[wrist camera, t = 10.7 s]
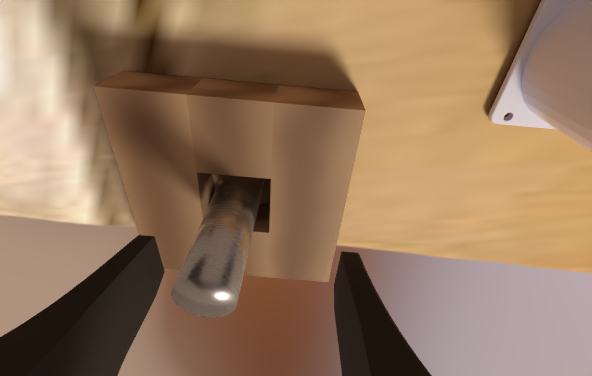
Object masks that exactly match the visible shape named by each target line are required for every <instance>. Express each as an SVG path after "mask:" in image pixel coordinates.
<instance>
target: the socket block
mask: <svg viewBox="0 0 592 376" xmlns="http://www.w3.org/2000/svg"><path fill="white" fill-rule="evenodd" d="M93 87H94V91H95V94H96V97H97V100H98V104H99V107H100V110H101V113H102V117H103V120H104V123H105V126H106V130H107V133H108V136H109V139H110V143H111V146H112V149H113V152H114V156H115V159H116V162H117V165H118V169H119V172H120V175H121V178H122V181H123V185H124V188H125V191H126V194H127V198H128V201H129V204H130V207H131V211H132V214H133V217H134V220H135V224H136V227H137V230H138V233H139V235H145V236H155V239H156V243H157V246H158V250H159V253H160V257H161V260H162V264H163V267H164V269H176V270H181V268H182V266H183V264H184V261H185V259H186V257H187V254H188V252H189V250H190V247H191V245H192V243H193V241H194V238H195V236H196V234H197V231H198V229H199V227H200V225H201V222H202V220H203V218H204V215H205V213H206V211H207V208H208V206H209V204H210V202H211V199H212V197H213V195H214V184H213V174H220V175H231V176H243V177H255V178H266V179H271V194H270V205H259V208H258V212H257V217H256V221H255V226H254V230H253V235H252V239H251V244H250V248H249V253H248V257H247V262H246V266H245V271H244V275H249V276H261V277H274V278H285V279H297V280H310V281H322V282H328V280H329V276H330V271H331V267H332V262H333V257H334V253H335V248H336V244H337V239H338V234H339V230H340V225H341V221H342V216H343V211H344V207H345V202H346V198H347V193H348V188H349V184H350V179H351V175H352V170H353V165H354V161H355V156H356V151H357V147H358V142H359V138H360V133H361V128H362V124H363V119H364V115H365V108H364V106H363V103H362V101H361V98H360V96H359V93H358V92H354V91H343V90H331V89H320V88H309V87H298V86H287V85H276V84H264V83H253V82H242V81H231V80H220V79H208V78H197V77H186V76H175V75H164V74H153V73H141V72H130V71H121V72H120V73H118V74H116V75H114V76H112V77H110V78H108V79H106V80H104V81H102V82H101V83H99V84H97V85H95V86H93Z"/></svg>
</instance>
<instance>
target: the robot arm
mask: <svg viewBox="0 0 592 376" xmlns="http://www.w3.org/2000/svg"><path fill="white" fill-rule="evenodd" d="M507 113H510V114H509V116H508V117H507V118H504V116H505V115H506V114H507ZM488 118H489V120H490V121H491V122H492V123H495V124H504V125H515V126H527V127H538V128H549V129H557V130H559V131H560V132H562V133H563V134H565V135H566V136H568V137H570V138H571V139H573V140H574V141H576V142H577V143H579V144H581V145H582V146H584V147H585V148H587V149H588V150H590V151H591V152H592V0H541V2H540V5H539V7H538V9H537V11H536V13H535V15H534V17H533V20H532V22H531V24H530V26H529V28H528V30H527V32H526V35H525V37H524V39H523V41H522V43H521V45H520V48H519V50H518V52H517V54H516V56H515V58H514V60H513V63H512V65H511V67H510V69H509V71H508V73H507V76H506V78H505V80H504V82H503V84H502V86H501V88H500V91H499V93H498V95H497V97H496V99H495V101H494V103H493V106H492V108H491V110H490V112H489V115H488ZM163 274H164V267H163V264H162V260H161V257H160V253H159V250H158V246H157V243H156V239H155V236H145V235H138V236H137V237H136V238H135V239H133V240H132V241H131V242H130V243H129V244H127V245H126V246H125V247H124V248H123V249H121V250H120V251H119V252H118V253H117V254H116V255H114V256H113V257H112V258H111V259H110V260H108V261H107V262H106V263H105V264H103V265H102V266H101V267H100V268H99V269H97V270H96V271H95V272H94V273H93V274H91V275H90V276H89V277H87V278H86V279H85V280H84V281H82V282H81V283H80V284H78V285H77V286H76V287H74V288H73V289H72V290H70V291H69V292H68V293H67V294H65V295H64V296H62V297H61V298H60V299H58V300H57V301H56V302H54V303H53V304H51V305H50V306H49V307H47V308H46V309H44V310H43V311H41V312H40V313H38V314H37V315H35V316H34V317H32V318H31V319H29V320H28V321H26V322H25V323H23V324H21V325H20V326H18V327H17V328H15V329H14V330H12V331H10V332H8V333H7V334H5V335H3V336H2V337H0V376H117V375H118V373H119V370H120V368H121V365H122V363H123V361H124V359H125V356H126V354H127V352H128V350H129V348H130V346H131V344H132V342H133V340H134V338H135V337H136V335H137V332H138V330H139V329H140V326H141V325H142V323H143V321H144V319H145V317H146V315H147V313H148V311H149V309H150V307H151V305H152V303H153V301H154V299H155V296H156V294H157V291H158V289H159V286H160V283H161V280H162V277H163ZM334 310H335V319H336V327H337V336H338V344H339V352H340V360H341V368H342V376H431V374H430V373H429V372H428V371H427V369H426V368H425V366H424V365H423V364H422V362H421V361H420V360H419V359H418V357H417V356H416V354H415V353H414V351H413V350H412V349H411V347H410V346H409V345H408V343H407V341H406V340H405V338H404V337H403V335H402V334H401V332H400V331H399V329H398V328H397V326H396V324H395V323H394V321H393V320H392V318H391V316H390V315H389V313H388V311H387V310H386V308H385V306H384V304H383V302H382V301H381V299H380V297H379V295H378V293H377V292H376V290H375V288H374V286H373V284H372V282H371V280H370V278H369V276H368V274H367V271H366V269H365V267H364V265H363V262H362V260H361V257H360V255H359V254H358V253H353V252H341V256H340V261H339V265H338V270H337V274H336V279H335V283H334Z"/></svg>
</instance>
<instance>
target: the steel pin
mask: <svg viewBox="0 0 592 376" xmlns="http://www.w3.org/2000/svg"><path fill="white" fill-rule="evenodd" d="M263 185H264V178H255V177H243V176H231V175H222V176H221V179H220V181H219V183H218V186H217V188H216V190H215V192H214V195H213V197H212V199H211V202H210V204H209V206H208V208H207V211H206V213H205V215H204V218H203V220H202V222H201V225H200V227H199V229H198V231H197V234H196V236H195V238H194V241H193V243H192V245H191V247H190V250H189V252H188V254H187V257H186V259H185V261H184V264H183V266H182V268H181V270H180V273H179V275H178V277H177V280H176V282H175V284H174V286H173V289H172V298H173V300H174V302H175V303H176V304H177V305H178V306H179V307H180V308H181V309H183V310H184V311H186V312H188V313H191V314H193V315H197V316H201V317H208V318H216V317H222V316H226V315H228V314H230V313H231V312H233V311H234V310H235V308H236V306H237V302H238V298H239V293H240V288H241V284H242V279H243V275H244V271H245V266H246V262H247V257H248V253H249V248H250V244H251V239H252V235H253V230H254V226H255V221H256V217H257V212H258V208H259V203H260V199H261V194H262V190H263Z"/></svg>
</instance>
